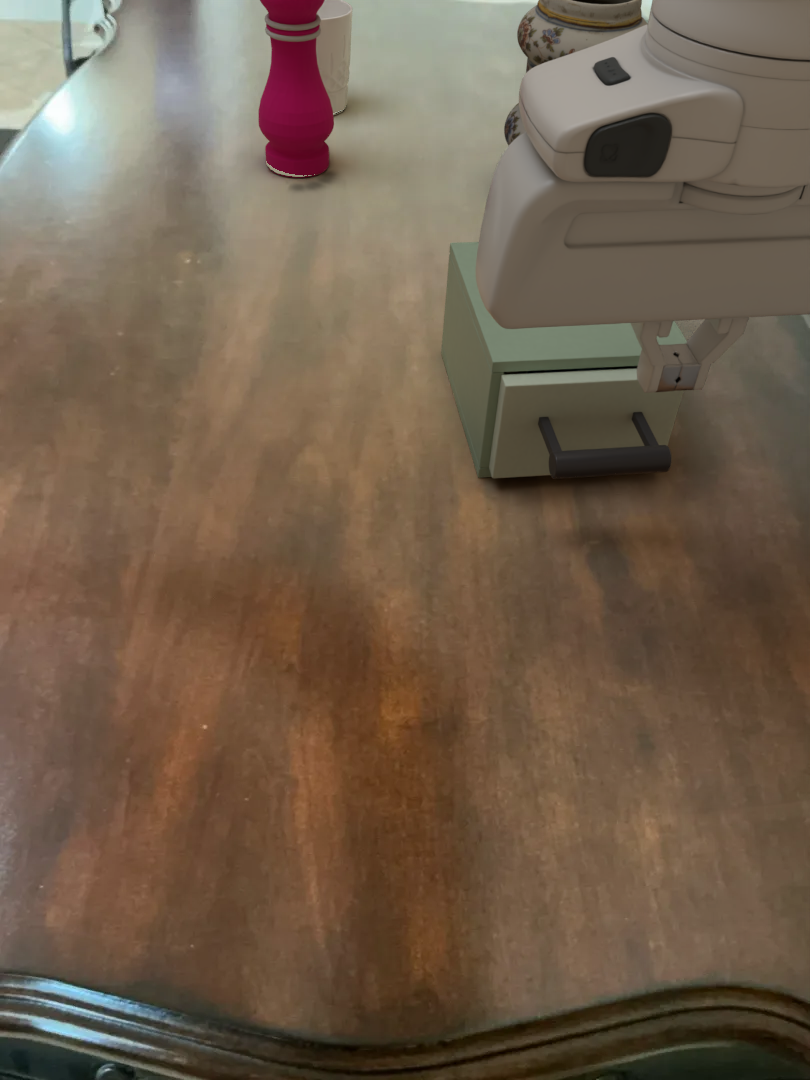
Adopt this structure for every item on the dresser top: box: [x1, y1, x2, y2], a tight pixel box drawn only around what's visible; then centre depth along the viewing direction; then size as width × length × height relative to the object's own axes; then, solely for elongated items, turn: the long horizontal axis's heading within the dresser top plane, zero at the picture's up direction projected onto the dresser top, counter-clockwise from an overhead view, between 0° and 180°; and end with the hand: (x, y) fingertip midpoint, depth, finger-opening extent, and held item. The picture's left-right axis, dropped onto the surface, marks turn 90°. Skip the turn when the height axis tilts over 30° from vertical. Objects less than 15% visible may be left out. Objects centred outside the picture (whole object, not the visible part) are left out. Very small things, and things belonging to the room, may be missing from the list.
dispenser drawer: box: [489, 366, 685, 480], centre depth 64 cm, size 18×11×7 cm, turn 8°
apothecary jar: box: [503, 0, 648, 147], centre depth 89 cm, size 12×12×18 cm
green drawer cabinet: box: [440, 241, 688, 479], centre depth 67 cm, size 15×13×9 cm
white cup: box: [316, 0, 354, 116], centre depth 104 cm, size 8×8×10 cm
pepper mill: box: [258, 0, 335, 179], centre depth 90 cm, size 7×7×20 cm
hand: (668, 384), depth 48 cm, fingers closed
